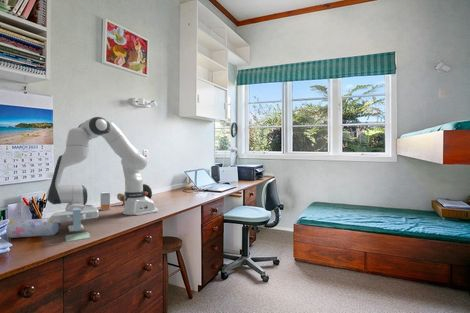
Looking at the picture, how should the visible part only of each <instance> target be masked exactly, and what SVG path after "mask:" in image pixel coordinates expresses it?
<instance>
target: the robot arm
mask: <svg viewBox="0 0 470 313" xmlns="http://www.w3.org/2000/svg"><path fill="white" fill-rule="evenodd" d="M98 137H102V138H103V139H104V140H105V142H106V143H107V144H108V145H109V147H110V148H111V149H112V150H113V151H114V153H115V154H116V155H117V156H118V157H119V158H120V159H121V160H120V162H121V163H120V164H121V166H122V170H123V171H122V172H123V175H124V187H125V188H124V193H123V194H124V199H125V205H123V206H124V208H123V211H122V214H124V215H127V216H141V215H147V214H152V213H157V212H159V208H158V207H156V204H155V202H154V200H152V198H151V199H149V198H148V197H146V195H148V192H145V191H143V184H144V181H143V180H144V179H143V177H142V173H141V171H142V170H144V169H146V167H147V164H148V160H147V158H146V157H145V156H144V155H142V153H140V151H139V150H138V148H136V147H135V146H134V145H133V144H132V143H131V142H130V141H129V139H128V138H127V137H126V135H125V134H124V133H123V131H122V130H121V128H119V127H118V126H117V124H115V123H114V122H113V121H109V120H108V121H107V120H106V119H105V118H104V117H102V116H95V117H92V118H89V119H87V120H85V121H84V122H82V123H80V124H79V125H78V127H73V128H70V129H69V131H68V132H67V138H66V141H65V142H66V143H65V149H64V152H63V154H61V155H60V156H59V155H58V158H57V161H56V164H55V166H54V167H55V168H54V171H53V174H52V178H51V183H50V186H48V187H49V188H48V190H47V192H46V198H47V199H46V200H47V202H49V203H50V204H51V205H60V204H66V205H65V210H64V211H58V212H53V214H52V215H51V216H52V222H54V223H56V222H59V223H63V222H71V223H73V209H74V208H80V210H81V221H84V220H88V219H97V218H99V213H100V212H99V209H98V208H97V207H95V206H94V205H93V204H92V205H91V204H87V202H88V198H89V197H88V190H87V187H85V185H83V184H68V185H67V184H64V185H63V184H61V180H62V176H63V172H64V170H65V169H66V168H68V167H71V166H73V165H76V164H79V163H82V162H83V161H85V160H86V159H87V158H88V154H89V142H90V140H94V139H97V138H98Z"/></svg>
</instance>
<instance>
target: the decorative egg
mask: <svg viewBox="0 0 470 313" xmlns="http://www.w3.org/2000/svg"><path fill="white" fill-rule="evenodd" d="M143 191H145V192H148V195H146V197H148V198H149V199H151V200H152V197H153V192H152V188H151V187H150V185H148V184H145V183H143Z"/></svg>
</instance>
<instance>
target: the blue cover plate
mask: <svg viewBox="0 0 470 313" xmlns="http://www.w3.org/2000/svg"><path fill="white" fill-rule="evenodd" d="M81 224H82V220H81V210H80V208H74V209H73V222H72V225H73V231H72V232H80V231H82V230H81Z"/></svg>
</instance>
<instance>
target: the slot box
mask: <svg viewBox="0 0 470 313" xmlns="http://www.w3.org/2000/svg"><path fill="white" fill-rule="evenodd" d="M67 228H68V232H69V233H70V232H74V231H73V224H72V225H68V226H67ZM83 230H85V228H84V225H83V224H82V223H81V230H80V231H83Z"/></svg>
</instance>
